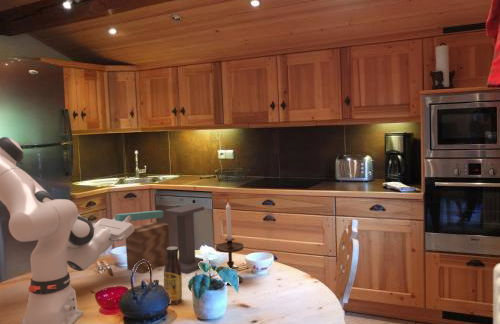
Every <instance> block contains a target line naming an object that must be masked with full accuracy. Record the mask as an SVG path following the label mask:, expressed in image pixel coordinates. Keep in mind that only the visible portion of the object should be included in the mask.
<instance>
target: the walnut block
mask: <svg viewBox="0 0 500 324" xmlns="http://www.w3.org/2000/svg"><path fill="white" fill-rule="evenodd" d="M133 227H134V229H135V230H134V232H133V233H132V234H131V235H129V236H128V237H127V238H126V239H125V249H126V250H125V251H126V253H125V254H126V265H127V270H128V269H130V270H129V271H132V269H133V267H134V265H135V264H136V263H137V262H138V261H140V260H142V259H145V260H147V261H149V263H150V264H151V268H152V270H155V269H157V268H161V267H163V266H164V267H165V263H166V262H167V248H168V247H170V233H169V231H170V230H169V223H165V222H164V223H163V222H156V221H151V222H146V223H143V224H139V225H136V226H133ZM152 270H151V271H152ZM147 272H150V271H149V269H148V266H147V264H146V263H142V264H140V265H139V266H138V268H137V270H136V273H140V274H145V273H147Z"/></svg>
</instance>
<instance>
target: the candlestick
mask: <svg viewBox="0 0 500 324" xmlns="http://www.w3.org/2000/svg"><path fill="white" fill-rule="evenodd" d="M226 201H227V204H226V205H225V216H226V217H225V218H226V238H224V241H225V242H222V243H219V244H217V245H216V246H215V249H216V250H215V251H217V252H219V253H228V254H227V255H228V261H227V262H226V265H227V266H228V268H229V267H230V268H232V269H234V265H235V262H234V261H233V253H237V252H241V251H243V250H244V247H245V246H244V244H243V243H241V242H234V241H235V238H234V237H233V233H232V231H233V230H232V211H231V210H232V209H231V208H232V207H231V205H230V203H229V202H230V200H229V196H228V195H226ZM237 276H238V277H239V283H240V284H241V282H242V283H243V277H242V276H241V275H237ZM226 286H227V287H228V286H232V285H230V284H229V283H227V285H226Z"/></svg>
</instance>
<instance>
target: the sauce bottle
mask: <svg viewBox="0 0 500 324" xmlns="http://www.w3.org/2000/svg"><path fill="white" fill-rule="evenodd" d="M178 259H179V248H178V246H173V245H172V246H169V247H168V248H167V262H166V266H165V265H164V269H163V270H164V271H163V289H164V288H165V290H166V291H167V293H168V294H169V296H170V299H171V303H170V304H169V305H177V304H179V303H181V302H182V299H183V282H182V279H183V278H182V276H183V275H182V274H183V273H182V272H181V264H180V263H179V261H178Z"/></svg>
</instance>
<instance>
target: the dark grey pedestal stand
mask: <svg viewBox="0 0 500 324" xmlns="http://www.w3.org/2000/svg"><path fill="white" fill-rule="evenodd" d="M202 211H205V206H201V205H193V204H184V205H182V206H177V207H172V208H167V209H164V214H165V215H171V216H172V215H173V216H176V222H177V224H176V225H177V243H178V246H177V247H178V261H179V263H180V264H181V273H182V274H187V275H189V274H191V273H193V272H195V271H199V270H201V269H200V268H199V266H198V263H199V262H200V261H203V259H204V258H201V257H197V256H196V247H195V246H196V245H195V244H196V243H195V225H194V224H195V223H194V222H195V221H194V213H198V212H202ZM165 266H166V263H165V265H164V267H165Z"/></svg>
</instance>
